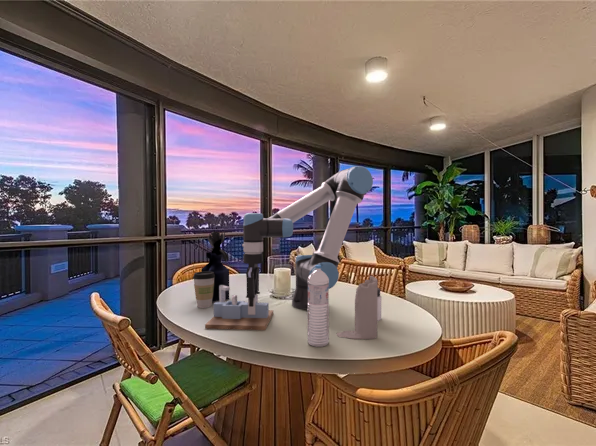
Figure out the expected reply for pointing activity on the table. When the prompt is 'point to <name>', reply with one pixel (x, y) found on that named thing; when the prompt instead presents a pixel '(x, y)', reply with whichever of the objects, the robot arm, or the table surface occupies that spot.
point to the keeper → (222, 292)
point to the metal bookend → (364, 312)
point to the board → (239, 323)
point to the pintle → (234, 299)
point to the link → (239, 310)
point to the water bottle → (318, 308)
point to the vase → (217, 264)
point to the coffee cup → (204, 288)
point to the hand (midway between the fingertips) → (253, 312)
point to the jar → (378, 305)
